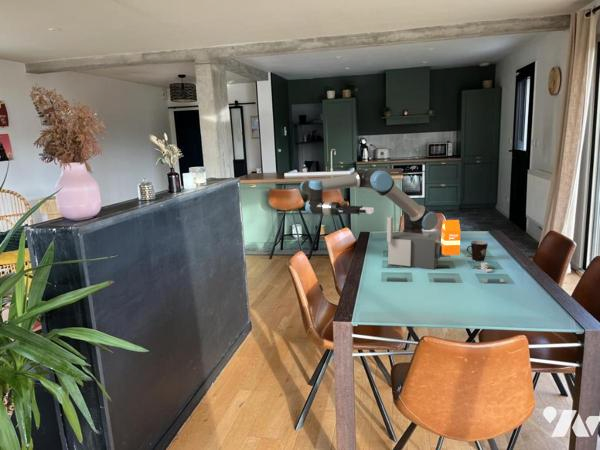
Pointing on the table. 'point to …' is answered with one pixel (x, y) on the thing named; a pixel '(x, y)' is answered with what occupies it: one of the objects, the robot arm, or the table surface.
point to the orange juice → (450, 237)
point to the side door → (397, 247)
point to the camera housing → (422, 249)
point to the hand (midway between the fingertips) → (372, 210)
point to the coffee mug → (478, 250)
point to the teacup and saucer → (485, 267)
